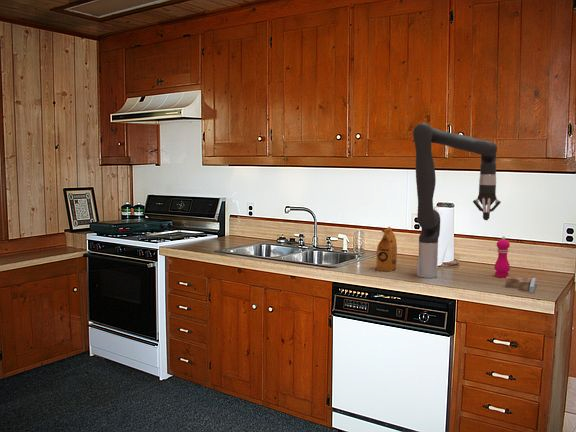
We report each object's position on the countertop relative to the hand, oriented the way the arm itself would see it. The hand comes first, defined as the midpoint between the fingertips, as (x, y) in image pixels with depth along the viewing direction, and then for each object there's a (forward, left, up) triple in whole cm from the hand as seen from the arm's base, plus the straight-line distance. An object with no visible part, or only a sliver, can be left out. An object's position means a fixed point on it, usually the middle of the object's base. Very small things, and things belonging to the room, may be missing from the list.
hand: (486, 220), depth 266 cm
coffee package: (-49, +1, -29) cm, 57 cm away
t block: (+16, -9, -29) cm, 34 cm away
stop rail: (+22, -9, -29) cm, 38 cm away
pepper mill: (+7, +11, -29) cm, 32 cm away
